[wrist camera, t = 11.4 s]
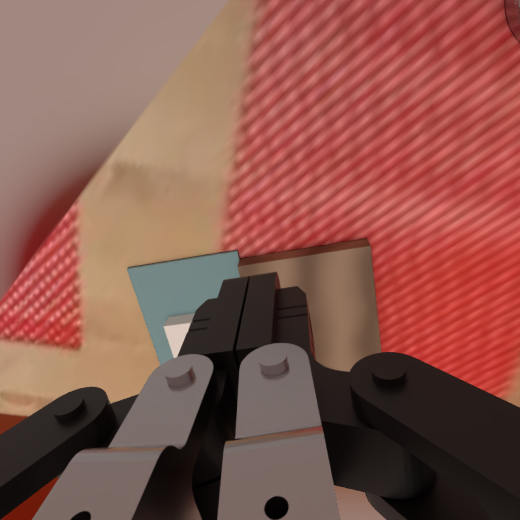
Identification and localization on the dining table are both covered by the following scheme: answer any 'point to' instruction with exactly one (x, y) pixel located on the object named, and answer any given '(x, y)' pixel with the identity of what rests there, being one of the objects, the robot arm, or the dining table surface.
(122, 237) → the dining table surface
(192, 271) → the mat
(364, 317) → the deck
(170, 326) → the tile
